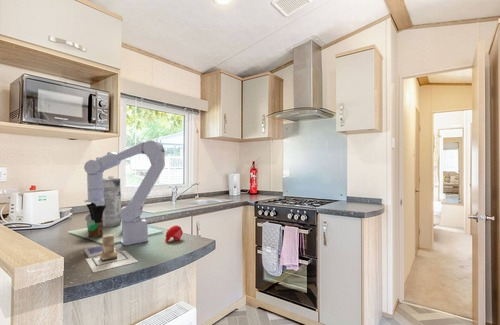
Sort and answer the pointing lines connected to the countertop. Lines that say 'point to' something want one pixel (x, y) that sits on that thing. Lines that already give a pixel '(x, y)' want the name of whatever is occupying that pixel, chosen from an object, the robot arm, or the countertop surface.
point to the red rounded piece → (174, 233)
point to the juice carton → (111, 202)
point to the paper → (110, 262)
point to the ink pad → (94, 251)
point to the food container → (94, 227)
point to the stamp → (108, 248)
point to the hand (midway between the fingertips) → (96, 221)
